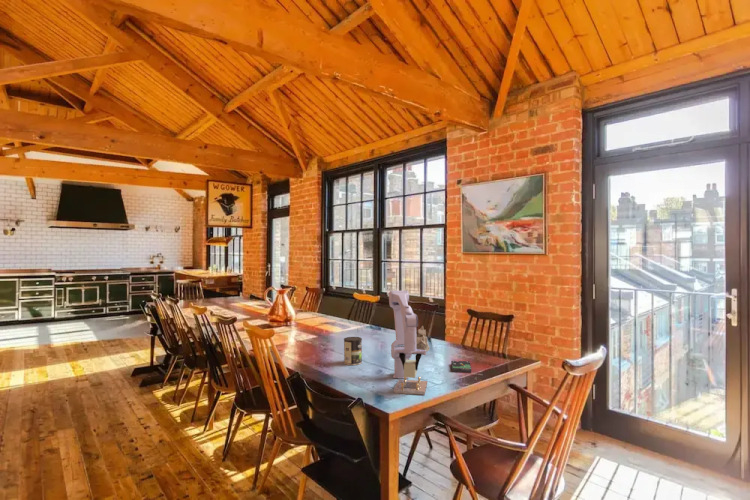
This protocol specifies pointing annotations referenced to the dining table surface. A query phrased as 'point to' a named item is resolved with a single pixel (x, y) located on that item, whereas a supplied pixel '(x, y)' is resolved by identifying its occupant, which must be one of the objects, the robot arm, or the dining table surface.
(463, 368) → the disk drive
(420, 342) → the ceramic cottage
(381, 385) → the dining table surface
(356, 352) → the coffee can
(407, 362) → the block
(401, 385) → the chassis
